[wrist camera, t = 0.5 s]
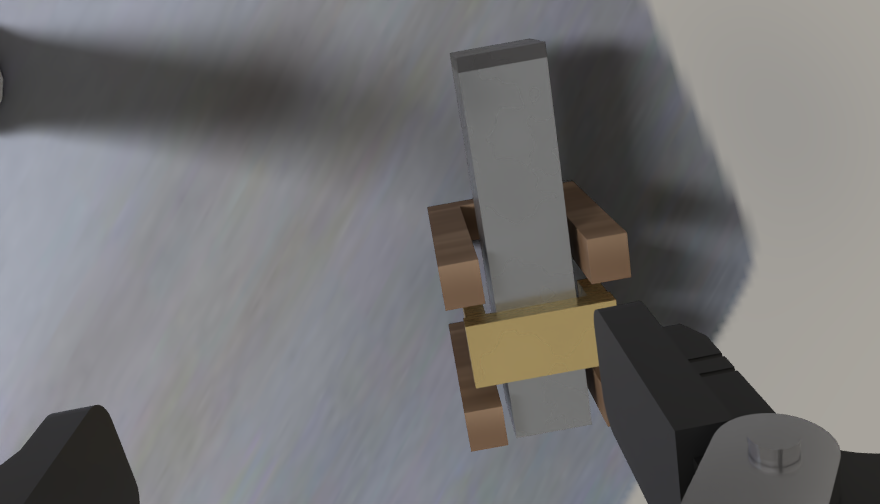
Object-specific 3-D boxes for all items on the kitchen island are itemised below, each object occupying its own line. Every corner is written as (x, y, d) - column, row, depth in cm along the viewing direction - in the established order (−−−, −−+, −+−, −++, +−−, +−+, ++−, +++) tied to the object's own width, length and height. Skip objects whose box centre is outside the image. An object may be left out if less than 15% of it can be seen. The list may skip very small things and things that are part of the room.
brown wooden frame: (427, 207, 41) (437, 266, 31) (572, 181, 41) (626, 232, 31) (454, 355, 44) (471, 451, 34) (590, 330, 44) (644, 419, 34)
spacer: (459, 301, 35) (465, 327, 32) (598, 276, 35) (615, 299, 32) (469, 358, 36) (476, 388, 33) (604, 334, 36) (622, 361, 33)
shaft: (449, 52, 33) (456, 57, 30) (529, 38, 33) (545, 41, 30) (505, 400, 39) (516, 438, 35) (574, 387, 39) (591, 424, 35)
